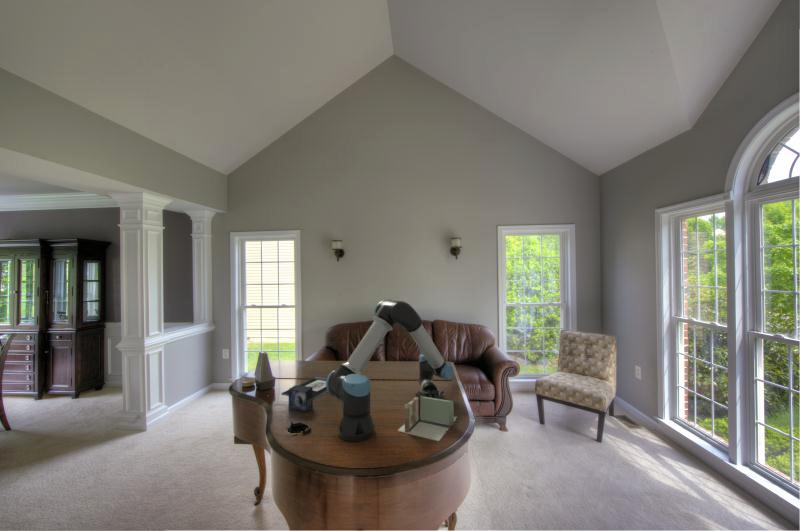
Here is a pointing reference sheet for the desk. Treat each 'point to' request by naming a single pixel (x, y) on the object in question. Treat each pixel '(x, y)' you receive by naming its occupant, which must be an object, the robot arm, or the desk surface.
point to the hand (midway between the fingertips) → (437, 407)
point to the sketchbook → (314, 386)
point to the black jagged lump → (298, 428)
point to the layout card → (427, 429)
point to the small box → (300, 398)
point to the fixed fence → (412, 412)
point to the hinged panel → (437, 410)
